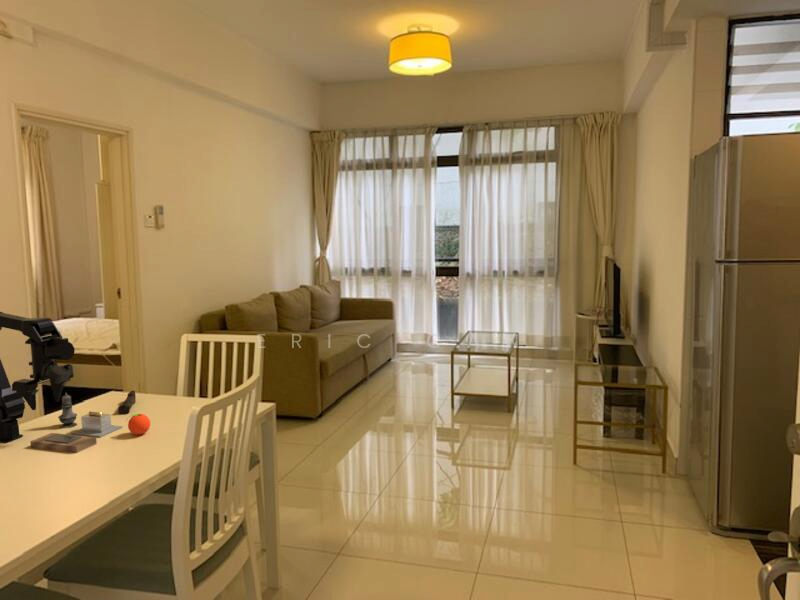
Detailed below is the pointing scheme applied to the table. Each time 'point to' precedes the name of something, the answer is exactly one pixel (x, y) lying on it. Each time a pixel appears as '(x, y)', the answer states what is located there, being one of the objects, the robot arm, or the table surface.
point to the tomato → (139, 424)
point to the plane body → (63, 442)
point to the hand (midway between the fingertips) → (45, 405)
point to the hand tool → (127, 403)
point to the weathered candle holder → (67, 413)
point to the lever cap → (96, 422)
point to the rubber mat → (96, 434)
